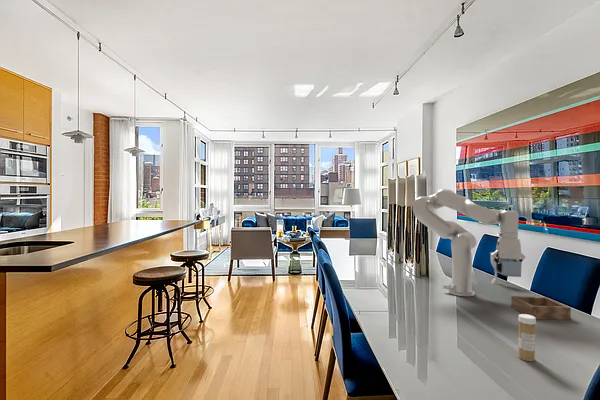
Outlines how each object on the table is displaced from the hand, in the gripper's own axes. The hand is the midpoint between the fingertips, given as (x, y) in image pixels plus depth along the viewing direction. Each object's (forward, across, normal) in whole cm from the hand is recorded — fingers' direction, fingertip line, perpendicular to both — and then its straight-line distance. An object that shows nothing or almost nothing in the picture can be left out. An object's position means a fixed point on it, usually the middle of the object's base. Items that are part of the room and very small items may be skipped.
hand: (507, 271), depth 169 cm
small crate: (+1, 0, 0) cm, 1 cm away
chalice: (+15, +14, +38) cm, 43 cm away
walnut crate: (+14, +6, -16) cm, 23 cm away
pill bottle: (+14, -26, -62) cm, 69 cm away
